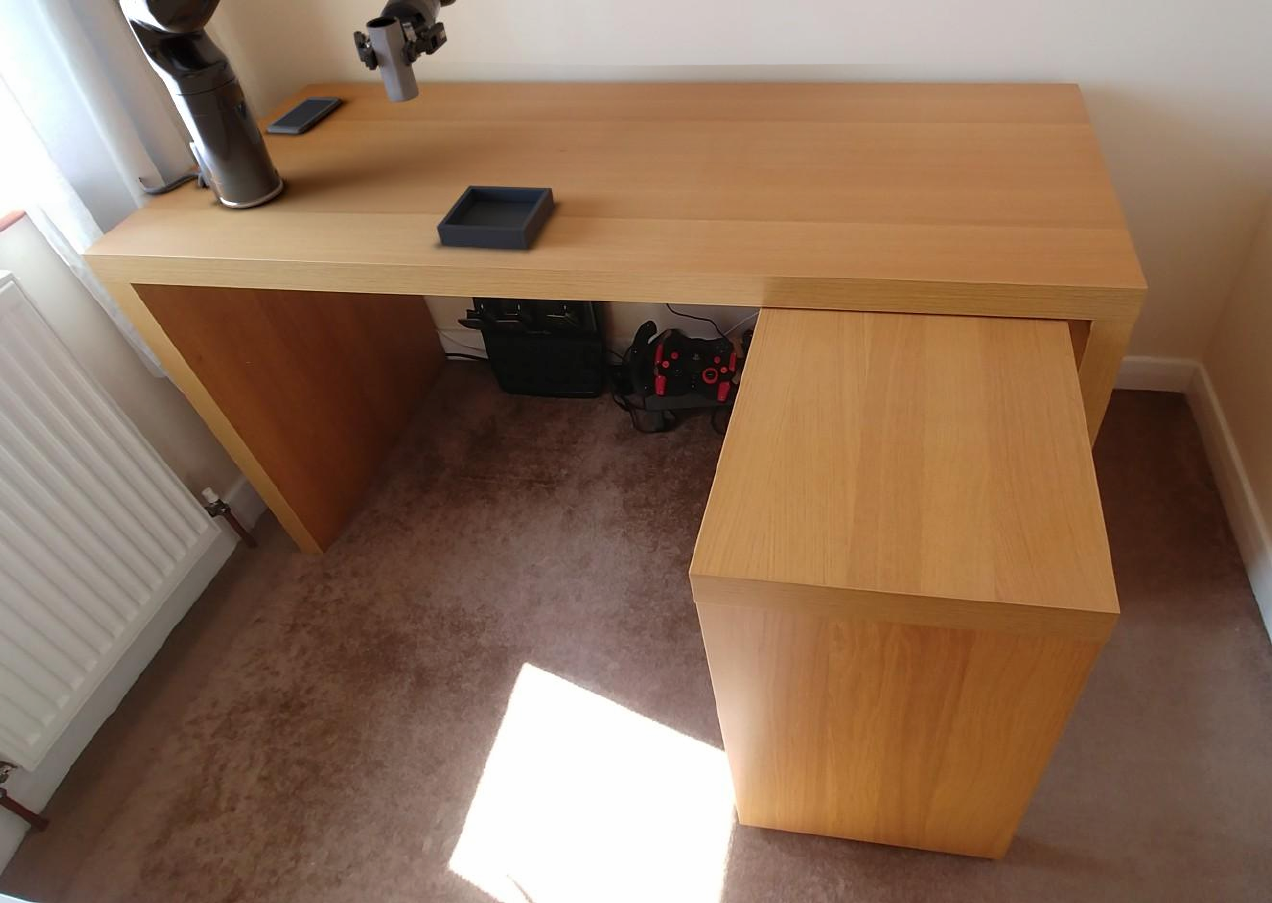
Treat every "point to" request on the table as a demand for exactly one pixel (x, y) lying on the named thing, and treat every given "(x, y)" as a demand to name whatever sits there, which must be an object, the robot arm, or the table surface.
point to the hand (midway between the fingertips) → (388, 61)
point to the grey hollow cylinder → (392, 58)
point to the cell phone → (304, 115)
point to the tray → (496, 217)
